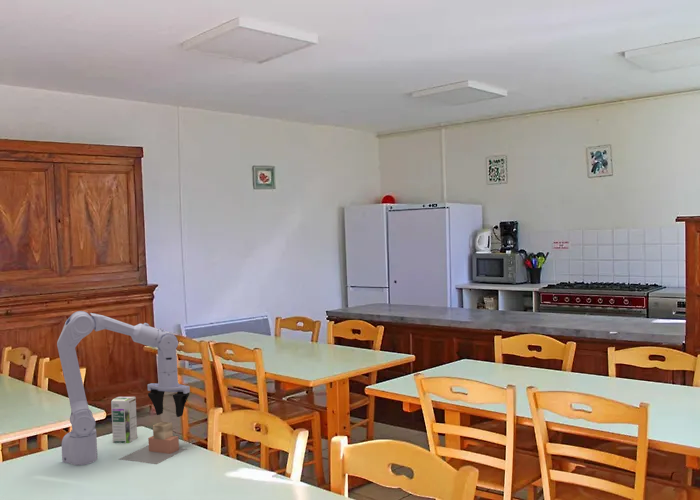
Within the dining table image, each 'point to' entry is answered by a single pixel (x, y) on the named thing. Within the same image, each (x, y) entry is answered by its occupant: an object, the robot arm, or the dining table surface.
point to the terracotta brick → (164, 444)
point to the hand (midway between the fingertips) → (169, 415)
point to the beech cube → (162, 430)
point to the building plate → (149, 456)
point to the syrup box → (124, 419)
